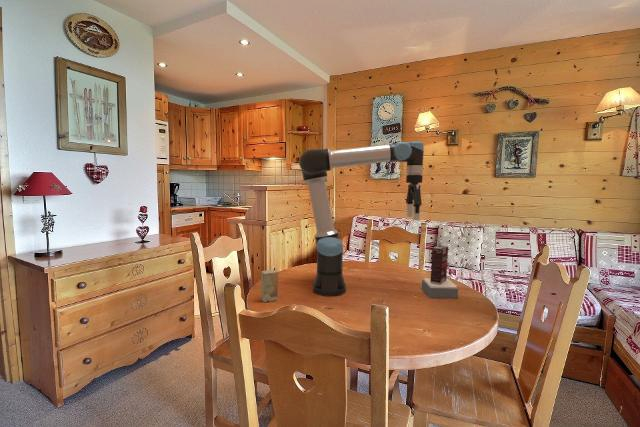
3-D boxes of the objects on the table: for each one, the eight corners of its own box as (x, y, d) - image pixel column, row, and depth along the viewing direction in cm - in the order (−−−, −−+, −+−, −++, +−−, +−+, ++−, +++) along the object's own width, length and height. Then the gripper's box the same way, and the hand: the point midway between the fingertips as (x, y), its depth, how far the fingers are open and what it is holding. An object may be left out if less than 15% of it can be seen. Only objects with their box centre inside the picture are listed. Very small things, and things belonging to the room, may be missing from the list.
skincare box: (263, 302, 132) (263, 273, 131) (260, 299, 136) (260, 271, 135) (278, 300, 135) (278, 271, 134) (275, 296, 139) (274, 269, 138)
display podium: (429, 297, 139) (429, 286, 138) (421, 288, 151) (422, 278, 150) (457, 298, 138) (458, 287, 138) (447, 289, 150) (448, 278, 150)
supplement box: (441, 285, 140) (442, 249, 139) (429, 283, 143) (431, 247, 141) (447, 280, 147) (448, 246, 145) (436, 278, 150) (437, 244, 148)
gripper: (429, 174, 143) (427, 221, 145) (415, 175, 167) (414, 215, 170) (412, 174, 143) (411, 221, 145) (401, 174, 168) (399, 215, 170)
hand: (412, 218), depth 157 cm, fingers open, 13 cm apart
